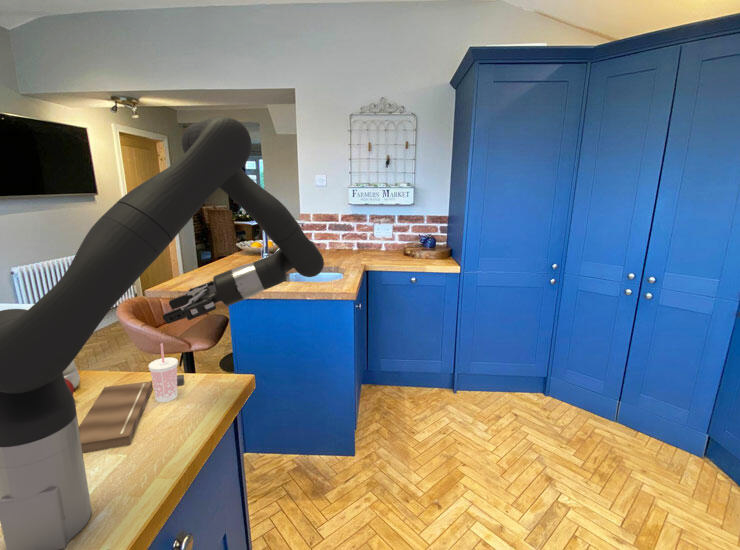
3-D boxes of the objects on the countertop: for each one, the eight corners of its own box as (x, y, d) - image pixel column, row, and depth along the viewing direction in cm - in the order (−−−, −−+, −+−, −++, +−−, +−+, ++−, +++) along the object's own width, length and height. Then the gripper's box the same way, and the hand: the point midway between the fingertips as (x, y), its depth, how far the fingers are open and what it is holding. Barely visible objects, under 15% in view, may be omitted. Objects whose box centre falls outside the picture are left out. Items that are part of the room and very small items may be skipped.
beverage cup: (182, 388, 91) (178, 337, 88) (178, 402, 85) (173, 347, 82) (155, 391, 89) (150, 339, 86) (148, 405, 84) (142, 350, 80)
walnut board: (169, 437, 73) (169, 428, 73) (67, 455, 67) (66, 445, 67) (184, 381, 95) (183, 374, 94) (107, 391, 89) (106, 383, 88)
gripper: (232, 261, 88) (164, 287, 84) (233, 278, 75) (153, 309, 71) (244, 288, 91) (179, 314, 87) (248, 308, 78) (171, 340, 74)
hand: (167, 312), depth 79 cm, fingers open, 8 cm apart
